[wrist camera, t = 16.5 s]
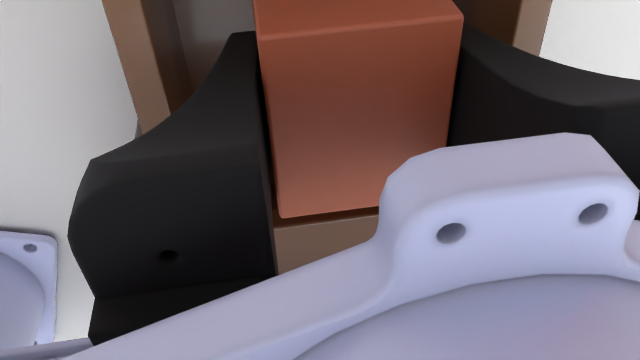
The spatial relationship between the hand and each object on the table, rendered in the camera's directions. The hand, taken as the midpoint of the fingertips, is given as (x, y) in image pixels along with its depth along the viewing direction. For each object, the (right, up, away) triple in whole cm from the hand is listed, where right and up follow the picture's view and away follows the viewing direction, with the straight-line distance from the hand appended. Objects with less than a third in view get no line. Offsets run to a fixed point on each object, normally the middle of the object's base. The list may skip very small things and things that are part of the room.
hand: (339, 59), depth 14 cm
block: (0, +1, +1) cm, 1 cm away
